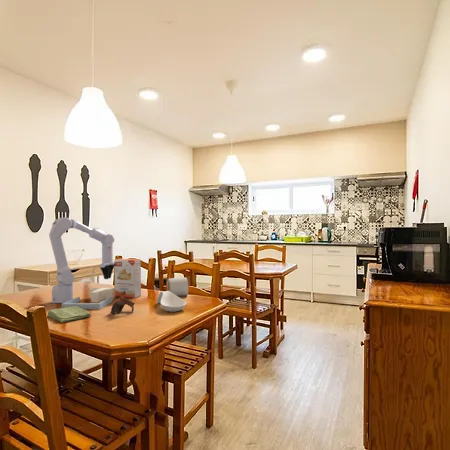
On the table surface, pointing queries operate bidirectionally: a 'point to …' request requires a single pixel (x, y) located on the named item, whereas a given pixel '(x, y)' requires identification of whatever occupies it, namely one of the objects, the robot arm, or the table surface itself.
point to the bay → (87, 304)
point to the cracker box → (128, 278)
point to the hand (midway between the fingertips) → (107, 278)
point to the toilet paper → (178, 286)
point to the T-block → (101, 294)
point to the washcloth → (68, 314)
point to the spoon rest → (170, 301)
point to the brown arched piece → (121, 305)
